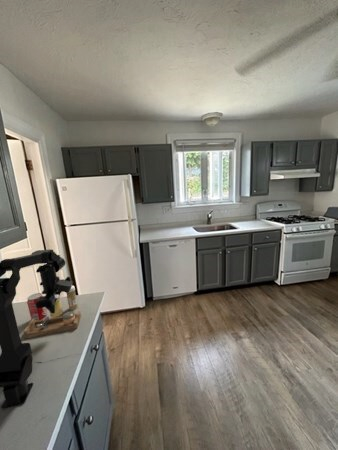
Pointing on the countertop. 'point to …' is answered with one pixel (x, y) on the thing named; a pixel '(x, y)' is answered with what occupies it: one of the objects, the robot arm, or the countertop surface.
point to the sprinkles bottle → (72, 299)
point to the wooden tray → (50, 326)
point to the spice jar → (69, 318)
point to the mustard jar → (57, 307)
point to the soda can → (36, 312)
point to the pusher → (44, 324)
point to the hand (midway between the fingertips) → (55, 309)
